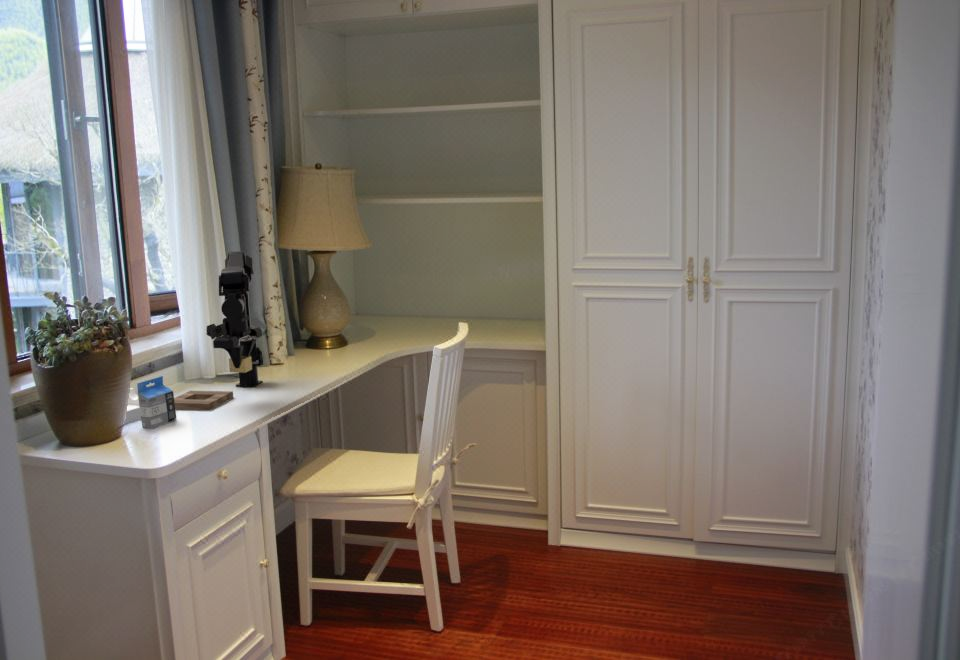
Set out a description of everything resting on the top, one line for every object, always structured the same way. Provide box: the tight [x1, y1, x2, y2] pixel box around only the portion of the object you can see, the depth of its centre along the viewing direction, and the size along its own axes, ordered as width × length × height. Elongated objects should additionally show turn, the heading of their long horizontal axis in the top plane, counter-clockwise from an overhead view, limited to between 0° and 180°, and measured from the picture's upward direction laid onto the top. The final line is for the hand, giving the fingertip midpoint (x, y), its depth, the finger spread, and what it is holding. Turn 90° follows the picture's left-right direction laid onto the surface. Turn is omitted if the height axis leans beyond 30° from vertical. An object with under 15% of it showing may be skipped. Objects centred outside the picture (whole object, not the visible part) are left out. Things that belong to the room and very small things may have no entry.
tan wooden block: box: [228, 356, 252, 373], centre depth 251 cm, size 4×5×4 cm
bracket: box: [123, 387, 141, 425], centre depth 239 cm, size 13×7×8 cm, turn 152°
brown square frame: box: [174, 390, 234, 412], centre depth 254 cm, size 14×14×2 cm
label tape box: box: [136, 375, 177, 429], centre depth 233 cm, size 9×4×12 cm, turn 153°
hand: (240, 366), depth 251 cm, fingers closed on tan wooden block, 4 cm apart
